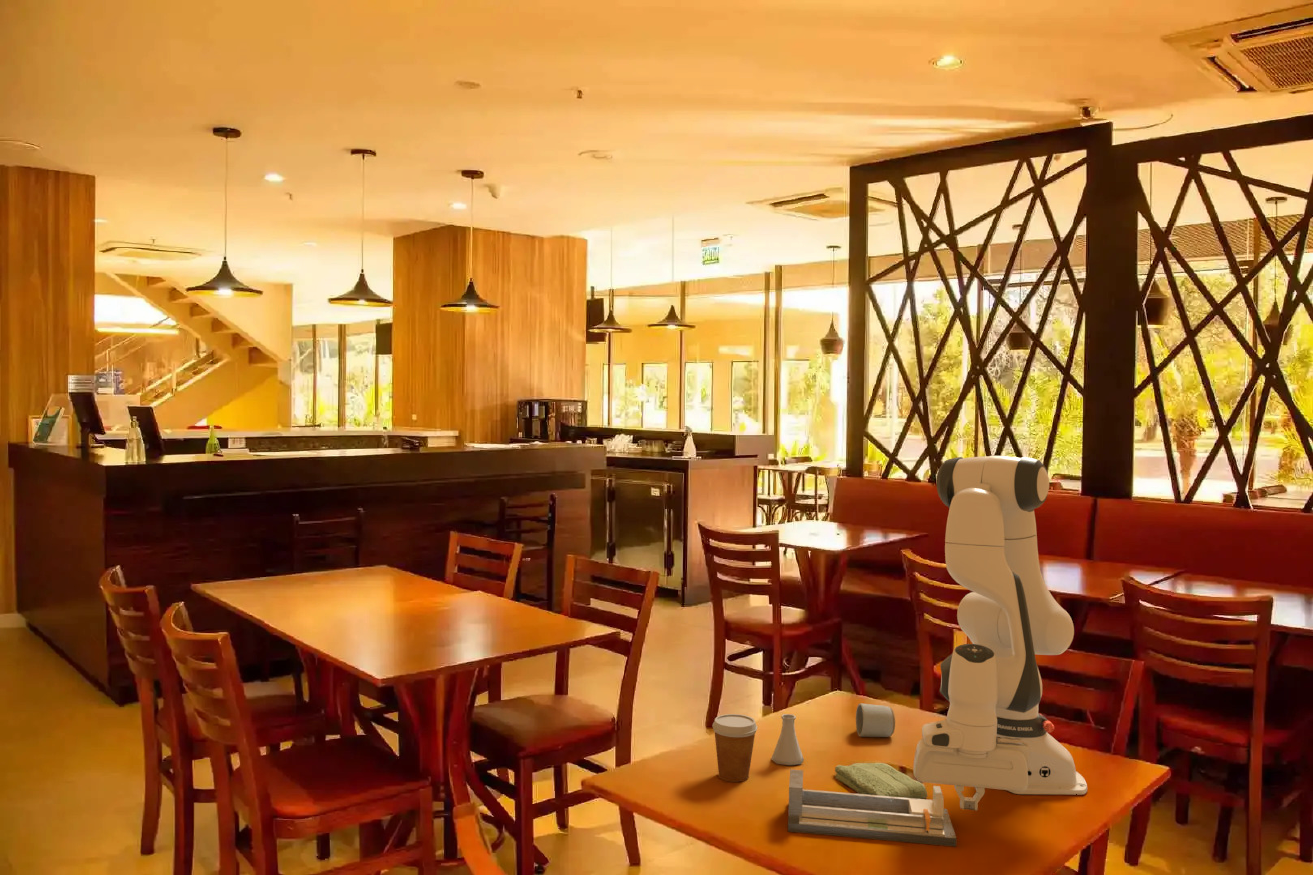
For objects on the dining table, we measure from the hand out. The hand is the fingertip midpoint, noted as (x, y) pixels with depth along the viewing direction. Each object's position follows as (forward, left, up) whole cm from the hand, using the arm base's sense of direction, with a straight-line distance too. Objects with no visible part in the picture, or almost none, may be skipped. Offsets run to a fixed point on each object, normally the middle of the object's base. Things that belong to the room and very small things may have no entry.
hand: (968, 808), depth 178 cm
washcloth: (+15, -19, -5) cm, 25 cm away
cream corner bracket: (+8, +2, -3) cm, 8 cm away
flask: (+34, -30, -5) cm, 46 cm away
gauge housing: (+18, 0, -5) cm, 19 cm away
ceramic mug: (+14, -52, -5) cm, 55 cm away
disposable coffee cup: (+45, -18, -5) cm, 49 cm away
